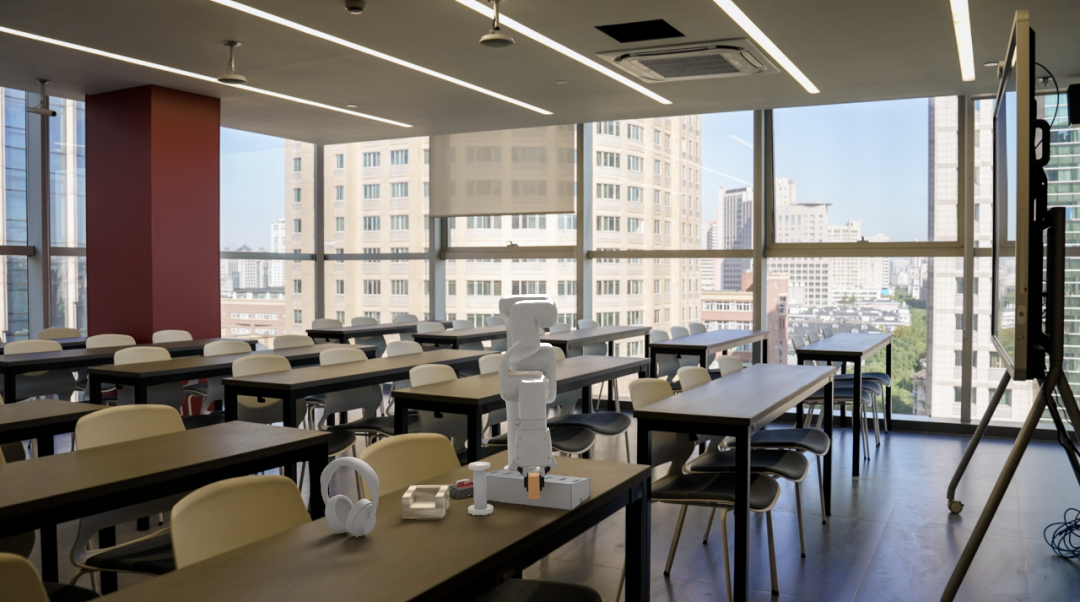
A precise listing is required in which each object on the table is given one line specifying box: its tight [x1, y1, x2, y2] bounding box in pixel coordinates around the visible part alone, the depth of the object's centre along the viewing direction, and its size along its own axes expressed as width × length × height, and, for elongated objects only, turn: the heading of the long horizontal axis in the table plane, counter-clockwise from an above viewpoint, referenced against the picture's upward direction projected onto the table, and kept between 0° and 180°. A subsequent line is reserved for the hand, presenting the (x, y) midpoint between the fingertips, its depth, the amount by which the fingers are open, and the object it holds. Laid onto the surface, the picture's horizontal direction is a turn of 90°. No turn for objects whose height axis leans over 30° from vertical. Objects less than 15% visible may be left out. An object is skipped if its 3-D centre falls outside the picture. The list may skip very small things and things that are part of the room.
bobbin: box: [467, 461, 494, 517], centre depth 214 cm, size 7×7×13 cm
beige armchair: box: [401, 484, 451, 519], centre depth 215 cm, size 12×11×6 cm
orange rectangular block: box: [528, 472, 540, 499], centre depth 214 cm, size 5×3×6 cm, turn 178°
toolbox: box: [448, 478, 474, 498], centre depth 233 cm, size 9×4×20 cm
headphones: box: [319, 456, 380, 537], centre depth 197 cm, size 18×8×20 cm, turn 60°
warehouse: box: [486, 469, 592, 511], centre depth 227 cm, size 30×14×8 cm, turn 65°
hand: (534, 489), depth 214 cm, fingers closed on orange rectangular block, 2 cm apart
